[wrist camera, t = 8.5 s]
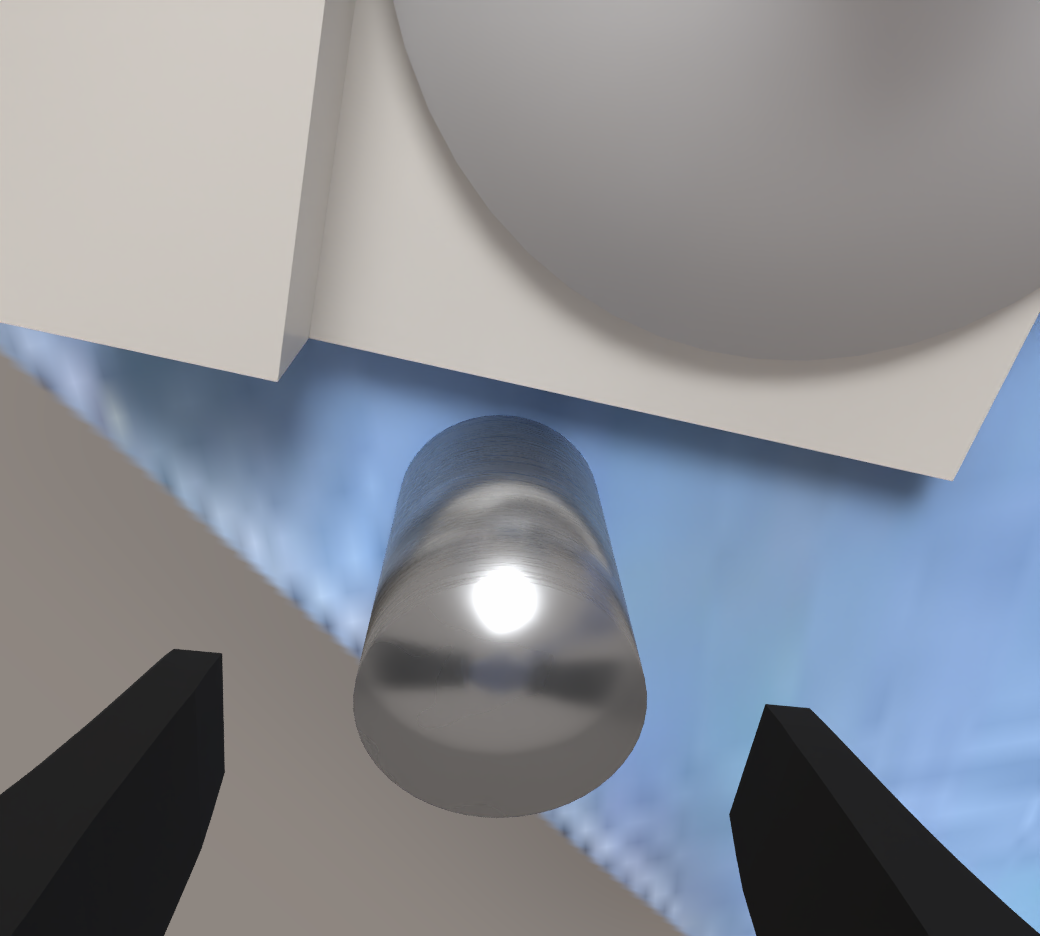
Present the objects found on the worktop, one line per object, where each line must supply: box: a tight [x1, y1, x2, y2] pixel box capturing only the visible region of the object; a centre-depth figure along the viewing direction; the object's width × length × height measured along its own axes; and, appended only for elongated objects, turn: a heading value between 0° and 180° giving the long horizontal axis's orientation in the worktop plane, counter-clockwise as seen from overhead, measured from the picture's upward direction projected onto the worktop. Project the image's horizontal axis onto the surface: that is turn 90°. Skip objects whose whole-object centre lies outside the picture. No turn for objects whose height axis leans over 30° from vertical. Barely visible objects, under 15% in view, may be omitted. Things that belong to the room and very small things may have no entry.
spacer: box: [353, 415, 647, 818], centre depth 14 cm, size 4×4×6 cm
